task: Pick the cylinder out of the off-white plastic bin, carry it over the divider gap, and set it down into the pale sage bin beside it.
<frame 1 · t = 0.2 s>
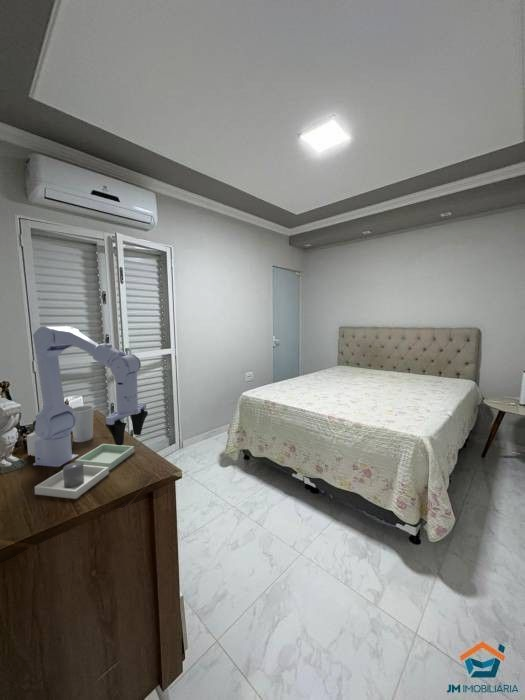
hand: (128, 439, 84), 10 cm above the table, fingers open, 7 cm apart
medicine bottle: (46, 452, 97), on the table
cup: (83, 439, 108), on the table
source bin: (74, 485, 77), on the table
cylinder: (74, 483, 77), point 1 cm above the table, touching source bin
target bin: (106, 460, 91), on the table
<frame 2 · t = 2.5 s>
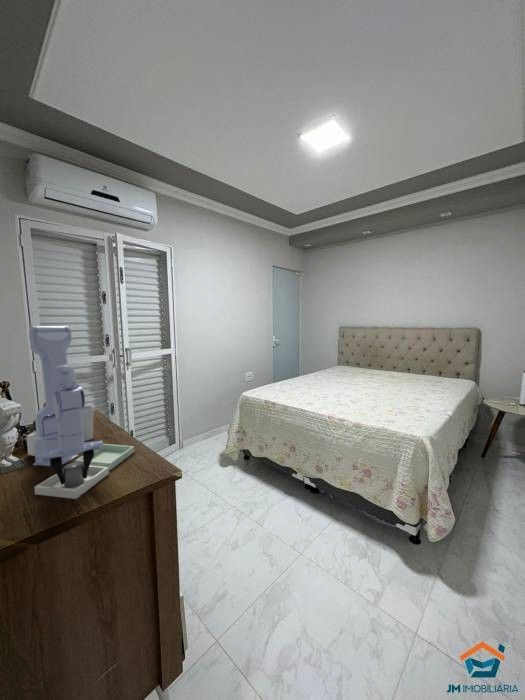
hand: (74, 479, 77), 2 cm above the table, fingers closed on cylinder, 5 cm apart
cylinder: (74, 483, 77), point 1 cm above the table, touching gripper, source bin
everything else where it was.
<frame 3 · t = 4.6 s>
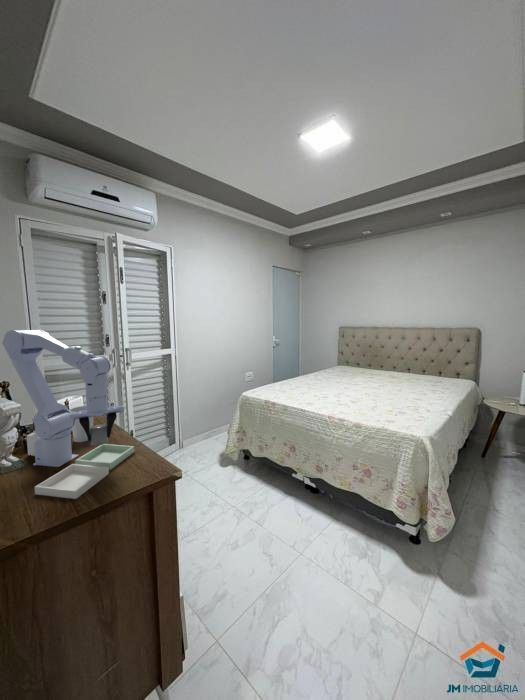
hand: (99, 438, 87), 9 cm above the table, fingers closed on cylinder, 5 cm apart
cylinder: (99, 442, 87), point 8 cm above the table, touching gripper
everything else where it was.
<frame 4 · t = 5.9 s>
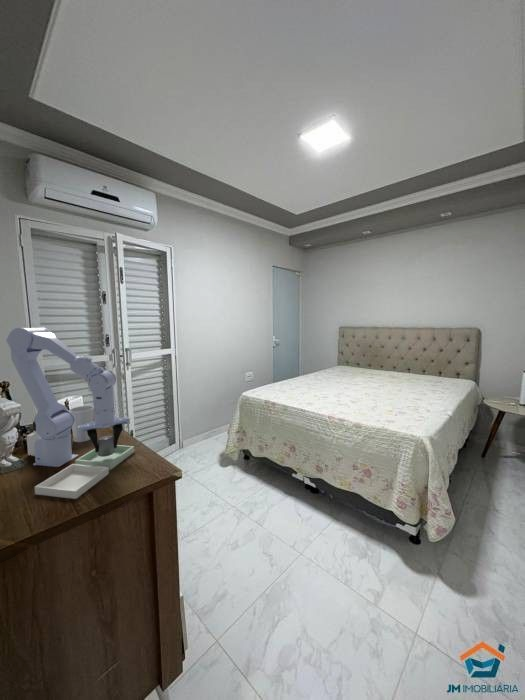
hand: (106, 449, 91), 4 cm above the table, fingers closed on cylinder, 5 cm apart
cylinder: (106, 453, 90), point 3 cm above the table, touching gripper
everything else where it was.
when the fingers open (4 cm above the table, at t = 6.7 s): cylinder drops 2 cm, resting on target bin.
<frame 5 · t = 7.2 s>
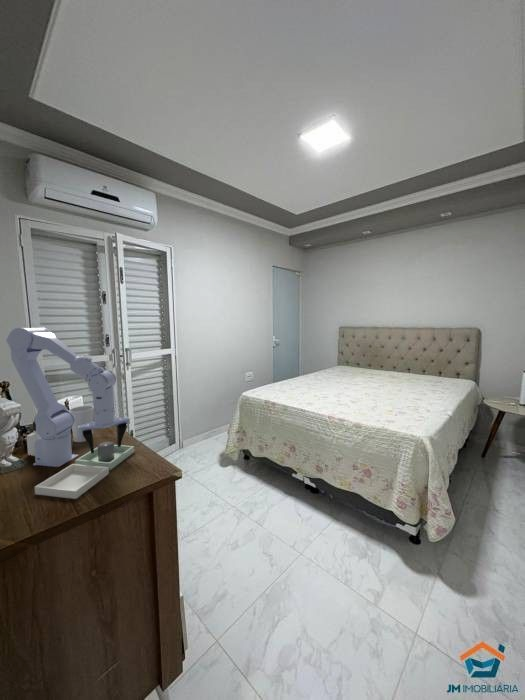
hand: (106, 449, 91), 4 cm above the table, fingers open, 7 cm apart
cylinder: (106, 459, 91), point 1 cm above the table, touching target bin
everything else where it was.
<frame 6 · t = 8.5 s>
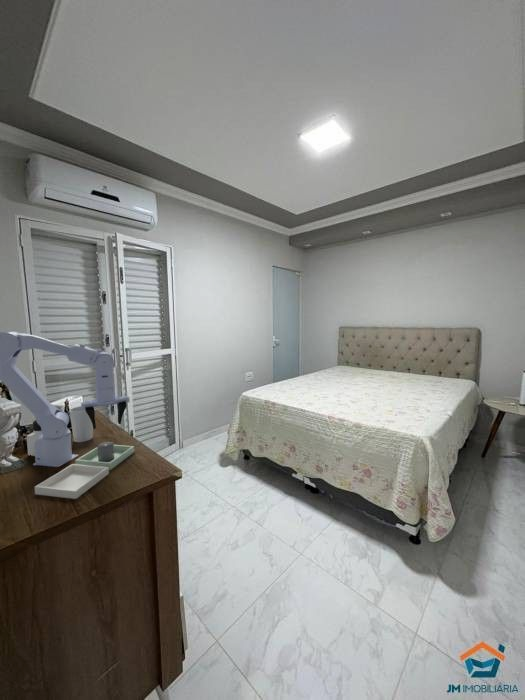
hand: (107, 425, 97), 9 cm above the table, fingers open, 7 cm apart
nothing on the table moved.
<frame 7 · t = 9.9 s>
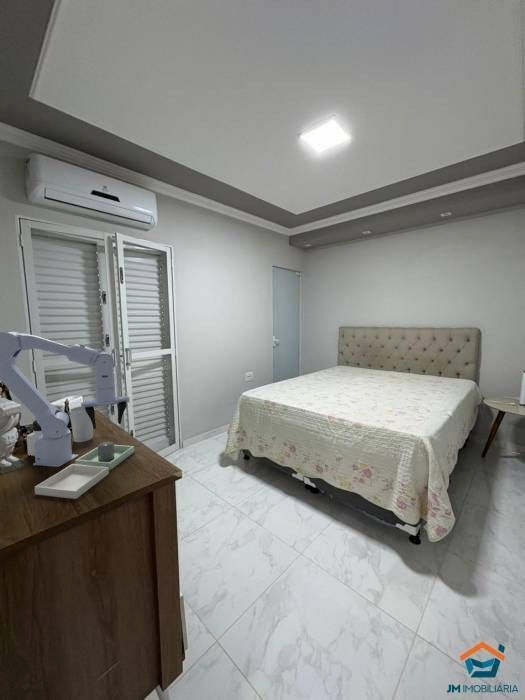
hand: (107, 425, 97), 9 cm above the table, fingers open, 7 cm apart
nothing on the table moved.
at the end: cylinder inside the target area on the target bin (0.4 cm from its centre), point 0.6 cm above the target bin's base; the gripper is holding nothing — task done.
